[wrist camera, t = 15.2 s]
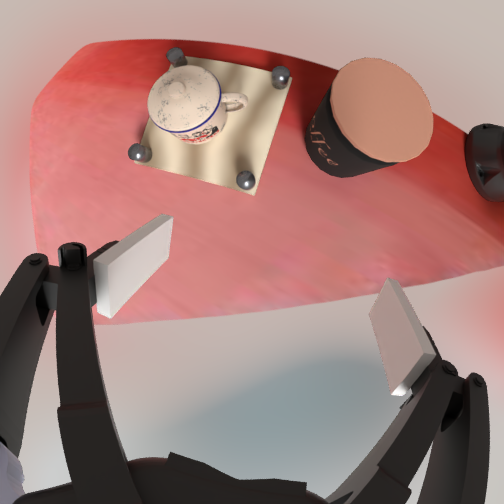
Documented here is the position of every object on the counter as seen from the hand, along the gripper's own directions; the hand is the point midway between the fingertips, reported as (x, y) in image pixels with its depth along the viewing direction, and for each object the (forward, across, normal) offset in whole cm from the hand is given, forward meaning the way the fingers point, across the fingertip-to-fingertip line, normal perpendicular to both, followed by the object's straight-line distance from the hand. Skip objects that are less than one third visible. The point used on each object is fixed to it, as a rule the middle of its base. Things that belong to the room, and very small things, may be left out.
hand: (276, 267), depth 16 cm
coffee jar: (+29, +5, +8) cm, 30 cm away
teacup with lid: (+26, -14, +8) cm, 30 cm away
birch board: (+27, -14, +7) cm, 31 cm away
